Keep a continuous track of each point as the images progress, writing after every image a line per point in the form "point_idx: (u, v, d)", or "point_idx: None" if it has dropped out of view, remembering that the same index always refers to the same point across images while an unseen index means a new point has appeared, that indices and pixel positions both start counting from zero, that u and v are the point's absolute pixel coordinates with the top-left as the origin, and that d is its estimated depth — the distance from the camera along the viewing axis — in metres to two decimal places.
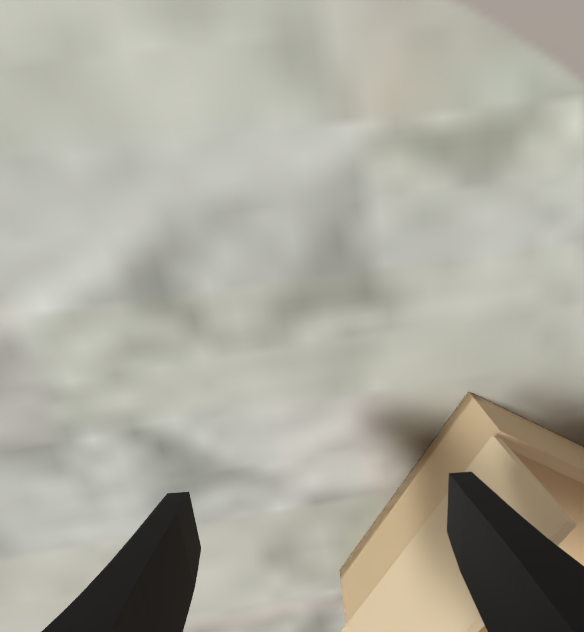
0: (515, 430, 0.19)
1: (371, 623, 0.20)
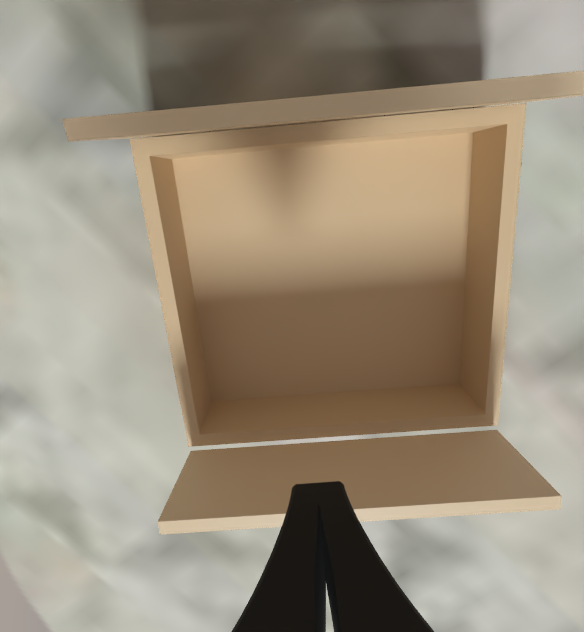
0: None
1: None
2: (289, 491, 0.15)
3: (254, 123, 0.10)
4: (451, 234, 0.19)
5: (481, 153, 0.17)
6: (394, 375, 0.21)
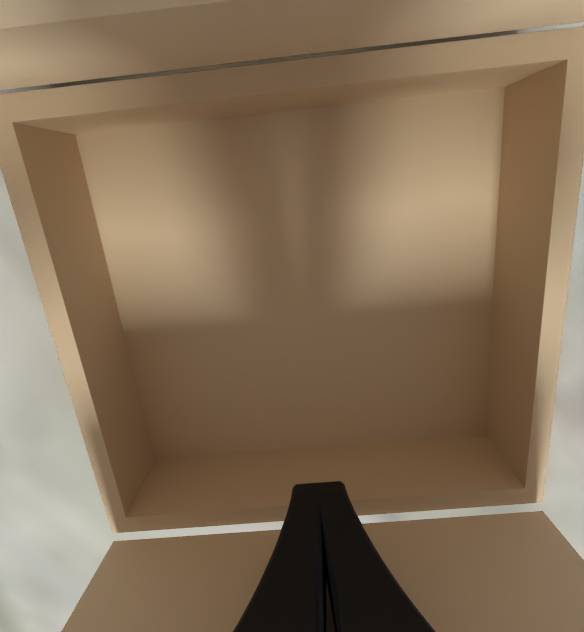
0: None
1: None
2: None
3: (92, 17, 0.05)
4: (473, 234, 0.13)
5: (519, 115, 0.11)
6: (395, 425, 0.16)
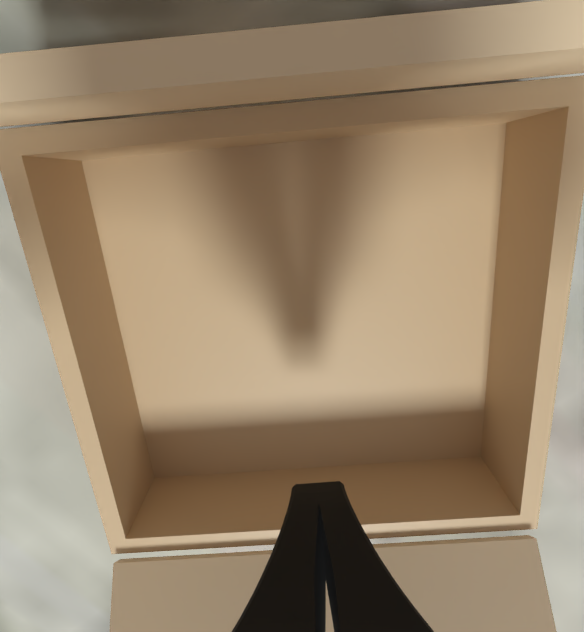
0: None
1: None
2: None
3: (112, 90, 0.05)
4: (473, 264, 0.13)
5: (520, 152, 0.12)
6: (393, 447, 0.16)
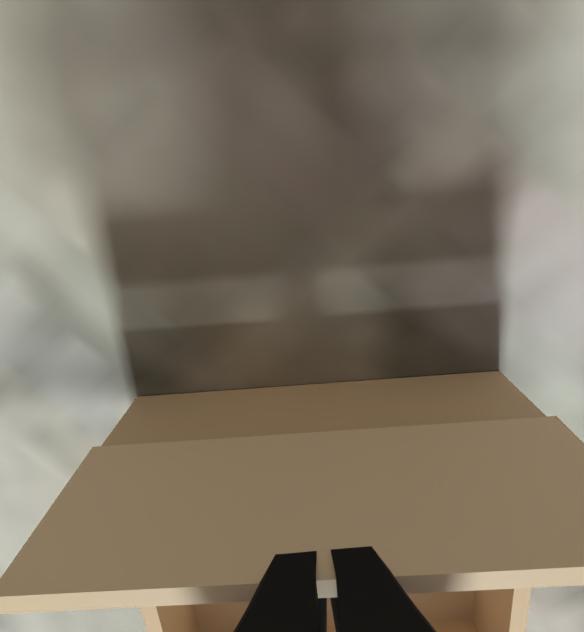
0: None
1: None
2: None
3: None
4: None
5: None
6: None
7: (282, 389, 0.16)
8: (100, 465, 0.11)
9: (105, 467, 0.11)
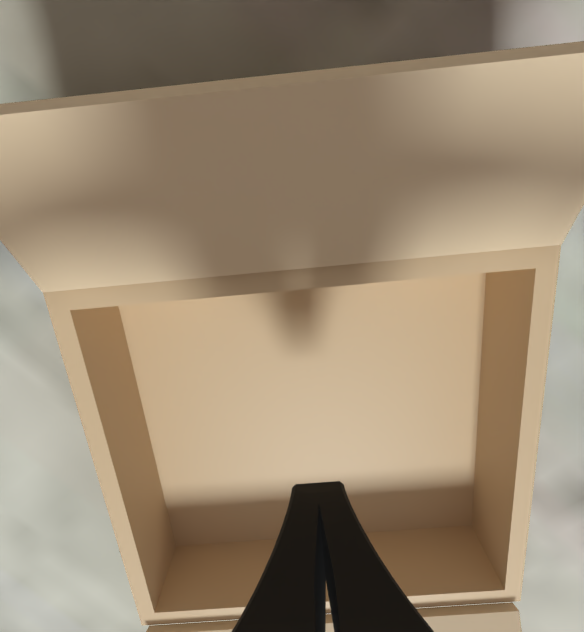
0: None
1: None
2: None
3: (160, 101, 0.07)
4: (460, 365, 0.15)
5: (498, 282, 0.13)
6: (392, 518, 0.17)
7: None
8: None
9: None
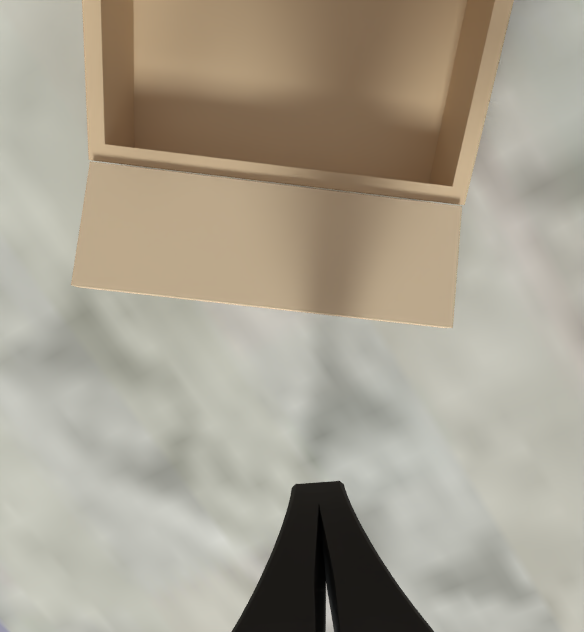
0: None
1: None
2: (203, 266, 0.15)
3: None
4: None
5: None
6: (355, 158, 0.18)
7: None
8: None
9: None
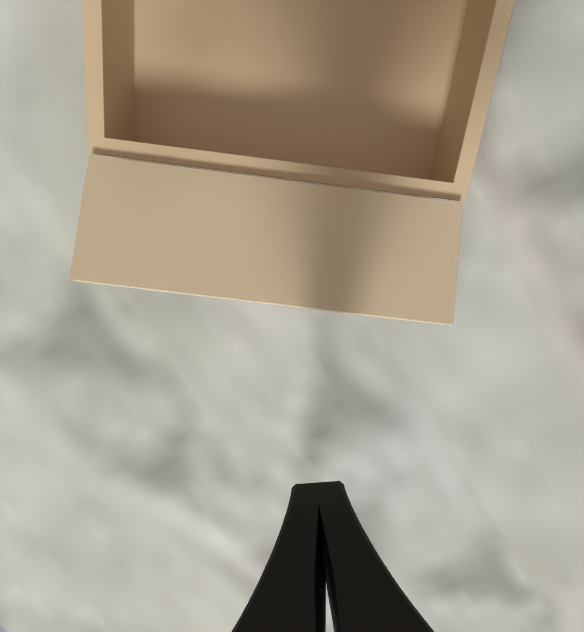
0: None
1: None
2: (203, 261, 0.14)
3: None
4: None
5: None
6: (355, 155, 0.18)
7: None
8: None
9: None
